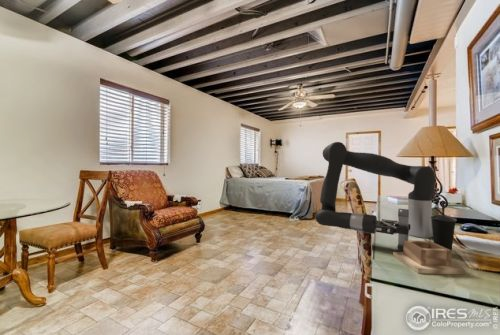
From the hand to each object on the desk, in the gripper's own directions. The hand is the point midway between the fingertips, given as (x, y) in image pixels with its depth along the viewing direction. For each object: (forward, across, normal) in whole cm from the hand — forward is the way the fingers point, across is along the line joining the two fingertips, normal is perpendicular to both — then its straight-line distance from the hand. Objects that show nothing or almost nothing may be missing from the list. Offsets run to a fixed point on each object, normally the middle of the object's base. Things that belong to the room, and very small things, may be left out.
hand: (409, 229), depth 90 cm
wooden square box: (+5, -8, +9) cm, 14 cm away
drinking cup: (+10, +7, +9) cm, 16 cm away
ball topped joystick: (-2, 0, +9) cm, 9 cm away
